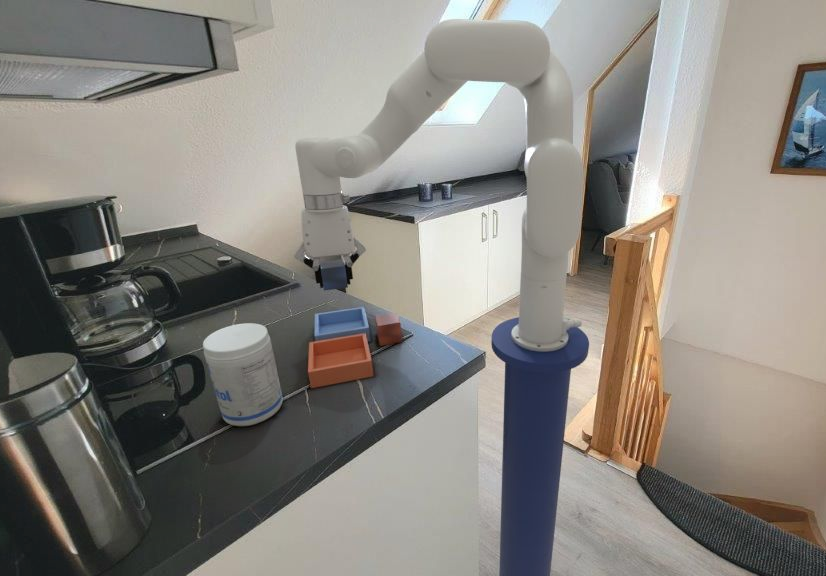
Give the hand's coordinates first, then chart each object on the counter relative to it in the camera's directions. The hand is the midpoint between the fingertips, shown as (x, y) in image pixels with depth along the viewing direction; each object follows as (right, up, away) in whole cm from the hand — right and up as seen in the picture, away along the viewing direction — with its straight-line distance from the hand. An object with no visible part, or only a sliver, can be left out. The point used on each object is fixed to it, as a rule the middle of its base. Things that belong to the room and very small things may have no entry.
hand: (335, 283), depth 90 cm
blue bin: (0, -12, +5) cm, 13 cm away
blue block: (0, 0, 0) cm, 0 cm away
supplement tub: (-8, -22, -19) cm, 31 cm away
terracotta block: (+11, -13, +3) cm, 17 cm away
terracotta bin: (+4, -17, -7) cm, 19 cm away
